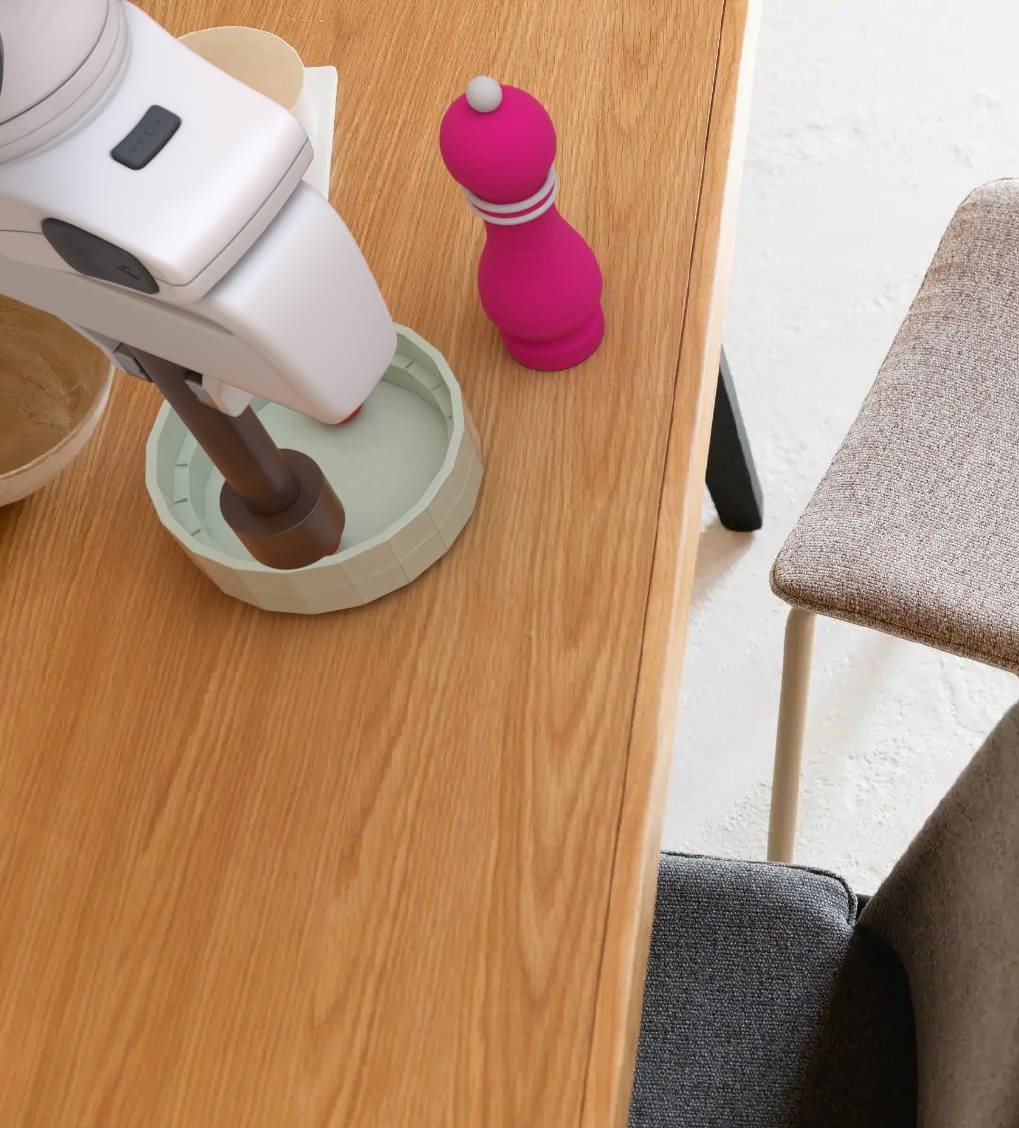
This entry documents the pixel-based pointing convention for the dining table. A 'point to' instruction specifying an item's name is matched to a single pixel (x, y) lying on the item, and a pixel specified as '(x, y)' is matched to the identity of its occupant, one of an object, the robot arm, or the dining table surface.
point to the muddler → (257, 477)
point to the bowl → (339, 487)
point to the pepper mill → (523, 227)
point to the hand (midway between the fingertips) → (193, 380)
